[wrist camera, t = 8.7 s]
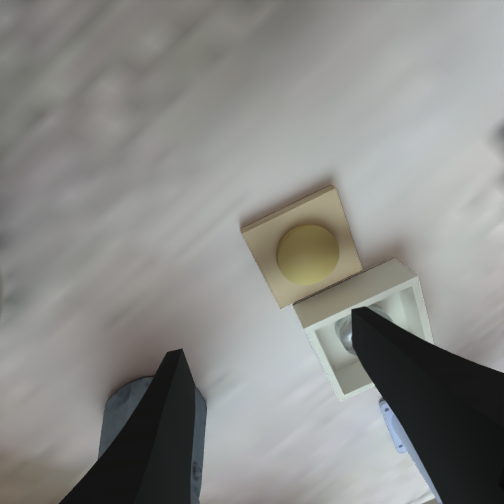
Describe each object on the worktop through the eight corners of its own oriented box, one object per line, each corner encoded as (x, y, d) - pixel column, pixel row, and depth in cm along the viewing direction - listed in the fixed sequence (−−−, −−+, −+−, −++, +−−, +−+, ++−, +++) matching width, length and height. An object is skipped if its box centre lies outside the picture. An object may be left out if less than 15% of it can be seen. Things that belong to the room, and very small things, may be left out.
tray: (414, 335, 28) (437, 358, 25) (326, 375, 28) (339, 402, 26) (394, 258, 24) (418, 275, 21) (292, 305, 25) (303, 328, 22)
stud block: (356, 264, 24) (368, 274, 22) (277, 301, 24) (282, 315, 23) (330, 185, 21) (340, 190, 19) (240, 229, 21) (242, 238, 20)
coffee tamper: (382, 295, 25) (438, 348, 19) (385, 335, 27) (437, 395, 21) (331, 310, 25) (372, 369, 19) (338, 350, 27) (377, 414, 21)
